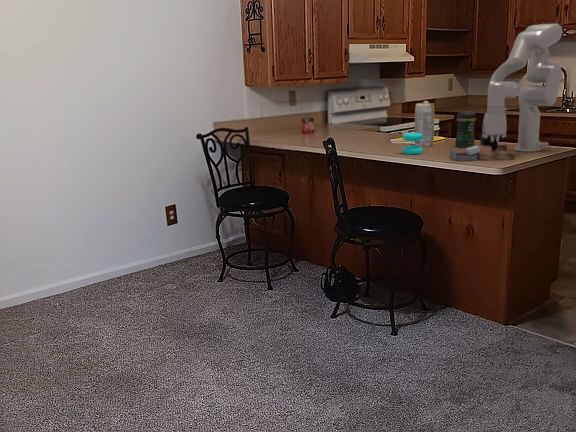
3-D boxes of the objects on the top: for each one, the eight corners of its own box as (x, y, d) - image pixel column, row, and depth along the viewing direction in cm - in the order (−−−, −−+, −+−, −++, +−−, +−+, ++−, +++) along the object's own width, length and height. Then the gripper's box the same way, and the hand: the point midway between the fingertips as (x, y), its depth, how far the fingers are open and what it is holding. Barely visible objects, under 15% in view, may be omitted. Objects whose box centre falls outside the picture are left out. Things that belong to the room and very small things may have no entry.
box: (470, 156, 282) (470, 148, 281) (477, 160, 270) (477, 151, 269) (449, 157, 282) (449, 148, 281) (455, 161, 271) (456, 152, 270)
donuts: (411, 132, 301) (427, 133, 294) (411, 151, 304) (426, 153, 296) (398, 134, 296) (413, 135, 288) (398, 153, 298) (412, 155, 290)
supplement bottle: (477, 152, 291) (478, 128, 288) (483, 151, 296) (485, 127, 293) (490, 154, 286) (491, 129, 283) (496, 152, 291) (498, 128, 288)
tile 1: (477, 150, 278) (476, 145, 277) (480, 152, 273) (479, 146, 272) (466, 153, 278) (465, 148, 277) (469, 155, 273) (468, 149, 273)
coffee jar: (464, 148, 307) (465, 112, 302) (452, 146, 314) (454, 111, 309) (477, 146, 312) (478, 111, 307) (465, 144, 318) (467, 110, 313)
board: (505, 155, 281) (506, 144, 280) (514, 159, 270) (515, 148, 268) (472, 156, 282) (472, 146, 281) (479, 160, 270) (479, 149, 269)
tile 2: (487, 150, 277) (488, 145, 277) (491, 152, 273) (491, 147, 272) (477, 151, 278) (477, 145, 277) (480, 152, 273) (480, 147, 272)
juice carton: (434, 144, 323) (435, 100, 316) (429, 146, 316) (430, 101, 310) (418, 144, 328) (419, 100, 322) (413, 146, 321) (413, 101, 315)
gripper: (509, 109, 273) (506, 148, 278) (476, 110, 274) (475, 149, 279) (514, 110, 266) (512, 150, 271) (481, 111, 267) (479, 151, 271)
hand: (493, 149), depth 275 cm, fingers closed
